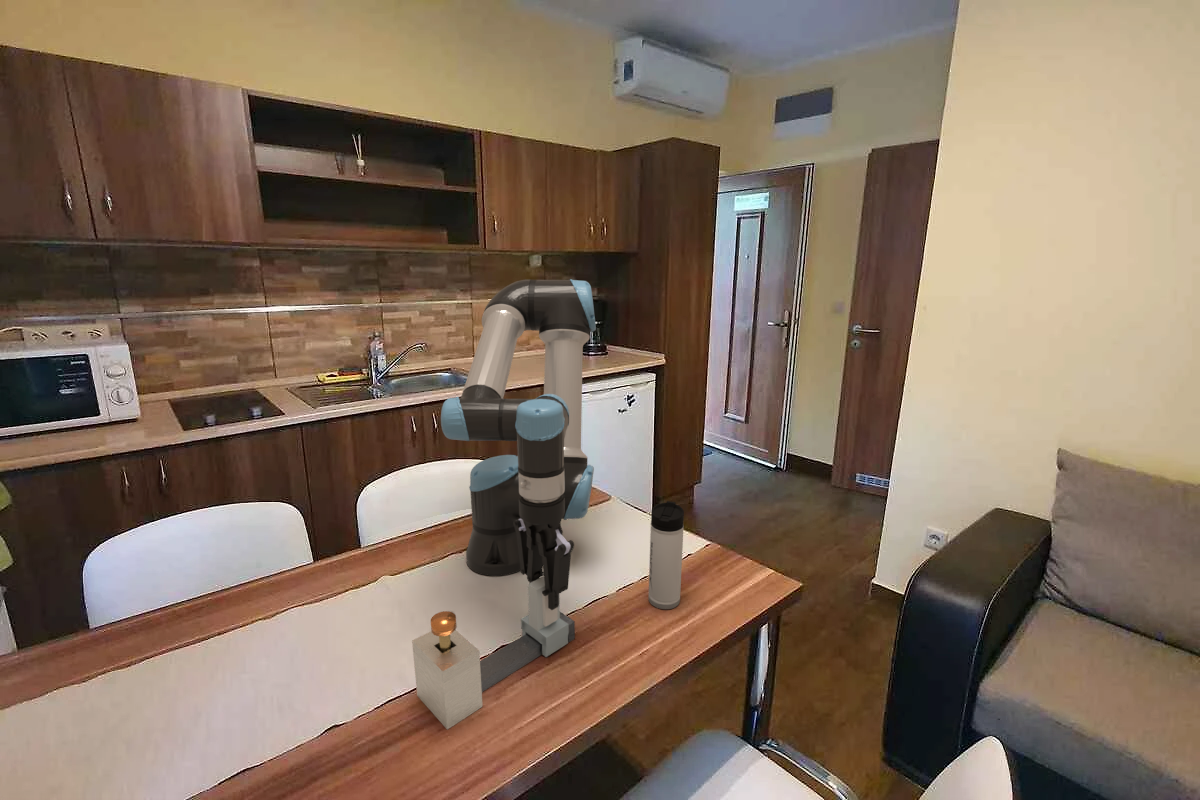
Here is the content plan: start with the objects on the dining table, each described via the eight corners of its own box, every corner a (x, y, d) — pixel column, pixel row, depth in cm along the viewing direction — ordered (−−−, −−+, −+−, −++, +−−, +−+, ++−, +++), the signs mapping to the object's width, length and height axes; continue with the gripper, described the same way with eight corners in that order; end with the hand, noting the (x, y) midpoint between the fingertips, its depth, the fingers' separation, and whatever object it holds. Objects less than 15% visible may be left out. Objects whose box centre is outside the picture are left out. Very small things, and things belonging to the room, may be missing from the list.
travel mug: (682, 593, 113) (687, 503, 108) (676, 612, 107) (680, 518, 102) (653, 587, 115) (656, 498, 110) (644, 606, 109) (647, 512, 104)
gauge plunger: (430, 668, 84) (425, 618, 81) (451, 656, 86) (447, 608, 84) (442, 680, 81) (438, 630, 79) (463, 668, 84) (460, 618, 81)
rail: (417, 695, 86) (412, 640, 84) (547, 619, 104) (546, 572, 102) (447, 729, 80) (442, 671, 78) (580, 642, 98) (580, 593, 96)
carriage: (521, 638, 99) (519, 578, 96) (543, 625, 102) (542, 567, 99) (546, 657, 94) (545, 595, 91) (568, 643, 97) (568, 583, 94)
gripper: (495, 486, 94) (500, 608, 100) (555, 516, 83) (557, 650, 89) (530, 475, 99) (533, 590, 105) (590, 501, 88) (590, 628, 94)
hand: (544, 617), depth 97 cm, fingers closed on carriage, 2 cm apart
